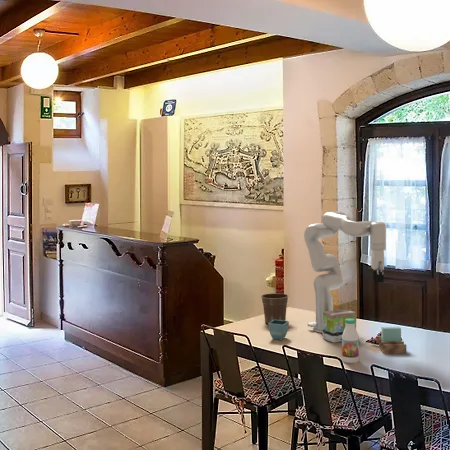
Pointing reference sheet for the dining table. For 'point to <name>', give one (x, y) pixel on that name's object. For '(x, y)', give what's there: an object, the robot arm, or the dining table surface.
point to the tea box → (336, 324)
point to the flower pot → (278, 329)
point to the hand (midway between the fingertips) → (378, 280)
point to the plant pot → (274, 306)
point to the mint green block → (390, 334)
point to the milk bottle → (350, 342)
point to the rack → (392, 347)
